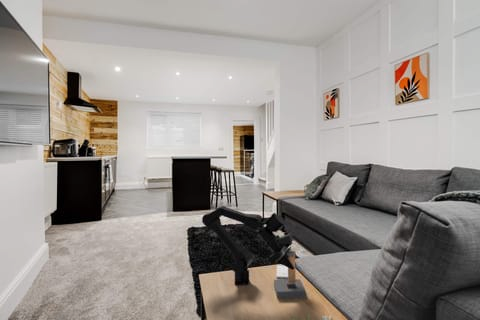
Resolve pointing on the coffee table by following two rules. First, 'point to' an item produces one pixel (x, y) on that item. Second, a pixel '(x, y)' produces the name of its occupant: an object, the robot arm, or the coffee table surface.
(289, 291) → the grey peg base
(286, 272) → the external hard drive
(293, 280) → the plug
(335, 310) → the coffee table surface
